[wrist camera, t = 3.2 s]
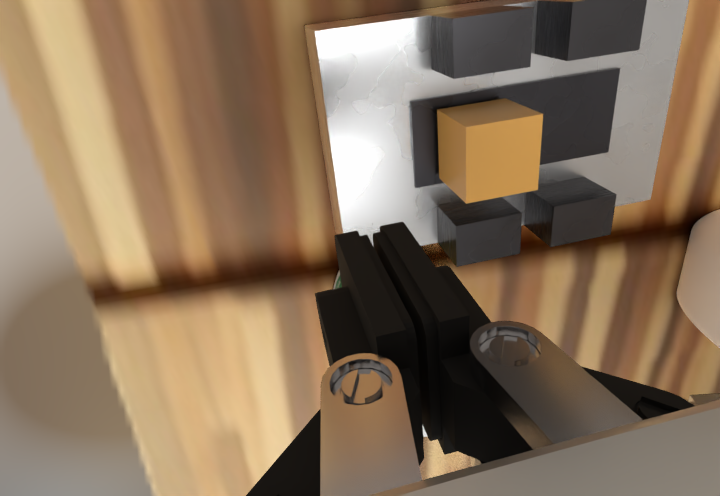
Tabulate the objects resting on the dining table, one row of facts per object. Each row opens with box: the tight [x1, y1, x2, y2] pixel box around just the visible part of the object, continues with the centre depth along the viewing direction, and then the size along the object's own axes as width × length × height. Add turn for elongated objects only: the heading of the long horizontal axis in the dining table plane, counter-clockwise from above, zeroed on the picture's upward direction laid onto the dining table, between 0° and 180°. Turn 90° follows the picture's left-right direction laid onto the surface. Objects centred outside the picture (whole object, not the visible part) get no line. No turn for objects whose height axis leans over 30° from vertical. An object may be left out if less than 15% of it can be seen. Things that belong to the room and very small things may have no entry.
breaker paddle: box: [437, 98, 543, 204], centre depth 20 cm, size 3×3×3 cm
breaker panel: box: [304, 0, 689, 267], centre depth 22 cm, size 16×10×6 cm, turn 96°
